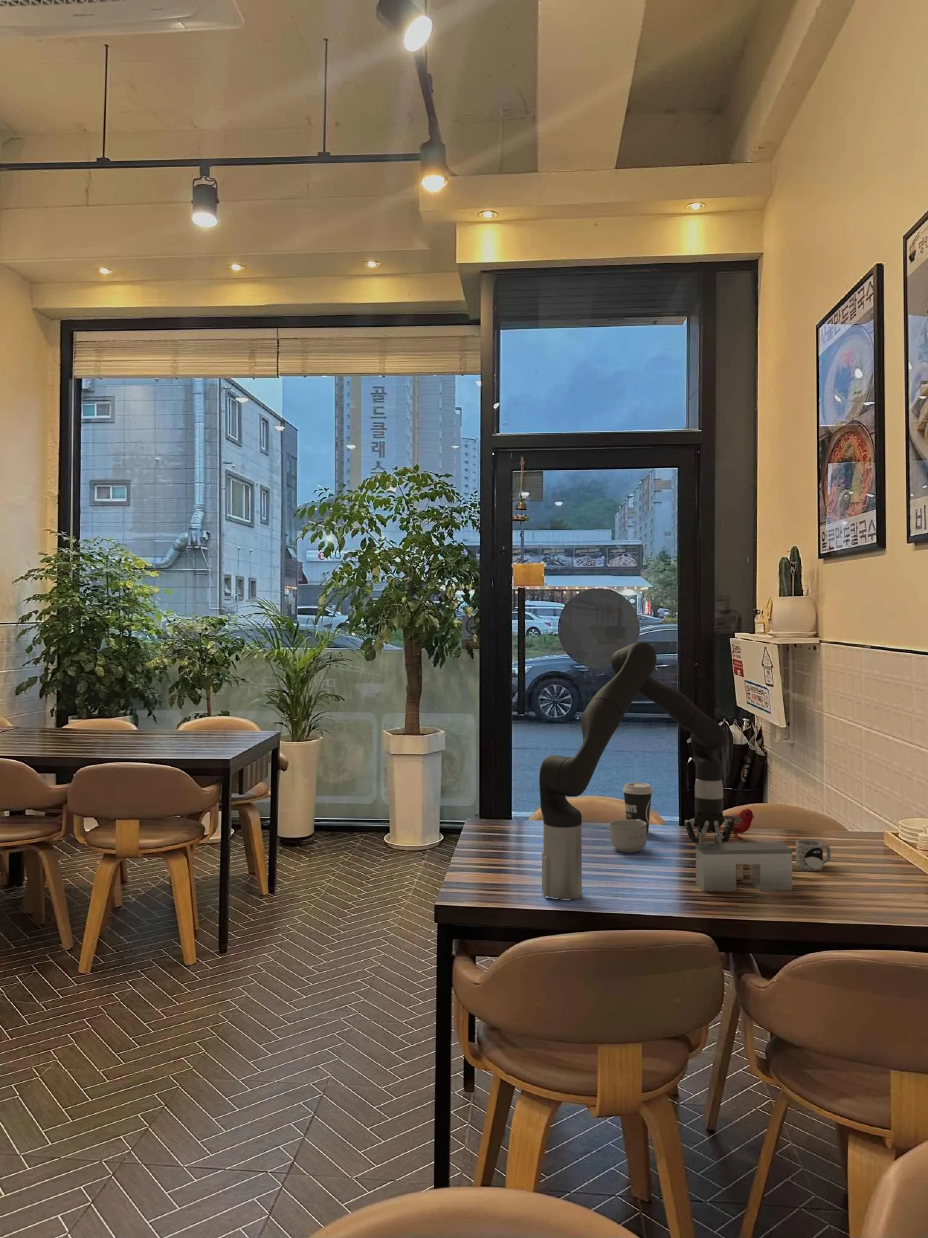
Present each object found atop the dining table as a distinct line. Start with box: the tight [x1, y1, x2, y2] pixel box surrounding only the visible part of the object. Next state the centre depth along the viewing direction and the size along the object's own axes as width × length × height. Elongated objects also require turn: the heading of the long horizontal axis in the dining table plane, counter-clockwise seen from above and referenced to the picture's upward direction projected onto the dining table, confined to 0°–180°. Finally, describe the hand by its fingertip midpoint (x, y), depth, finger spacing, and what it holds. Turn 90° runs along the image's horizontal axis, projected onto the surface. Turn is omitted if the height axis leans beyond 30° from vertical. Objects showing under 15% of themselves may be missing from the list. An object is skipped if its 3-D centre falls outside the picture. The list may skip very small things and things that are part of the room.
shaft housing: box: [695, 842, 793, 892], centre depth 202 cm, size 22×6×10 cm, turn 93°
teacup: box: [608, 819, 648, 853], centre depth 237 cm, size 14×11×8 cm
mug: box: [795, 839, 832, 872], centre depth 219 cm, size 10×7×7 cm
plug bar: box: [703, 840, 744, 881], centre depth 218 cm, size 4×22×4 cm, turn 3°
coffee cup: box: [621, 782, 654, 835], centre depth 256 cm, size 10×10×15 cm
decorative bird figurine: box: [723, 808, 755, 840], centre depth 250 cm, size 3×18×10 cm, turn 24°
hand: (709, 856), depth 226 cm, fingers closed on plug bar, 4 cm apart
